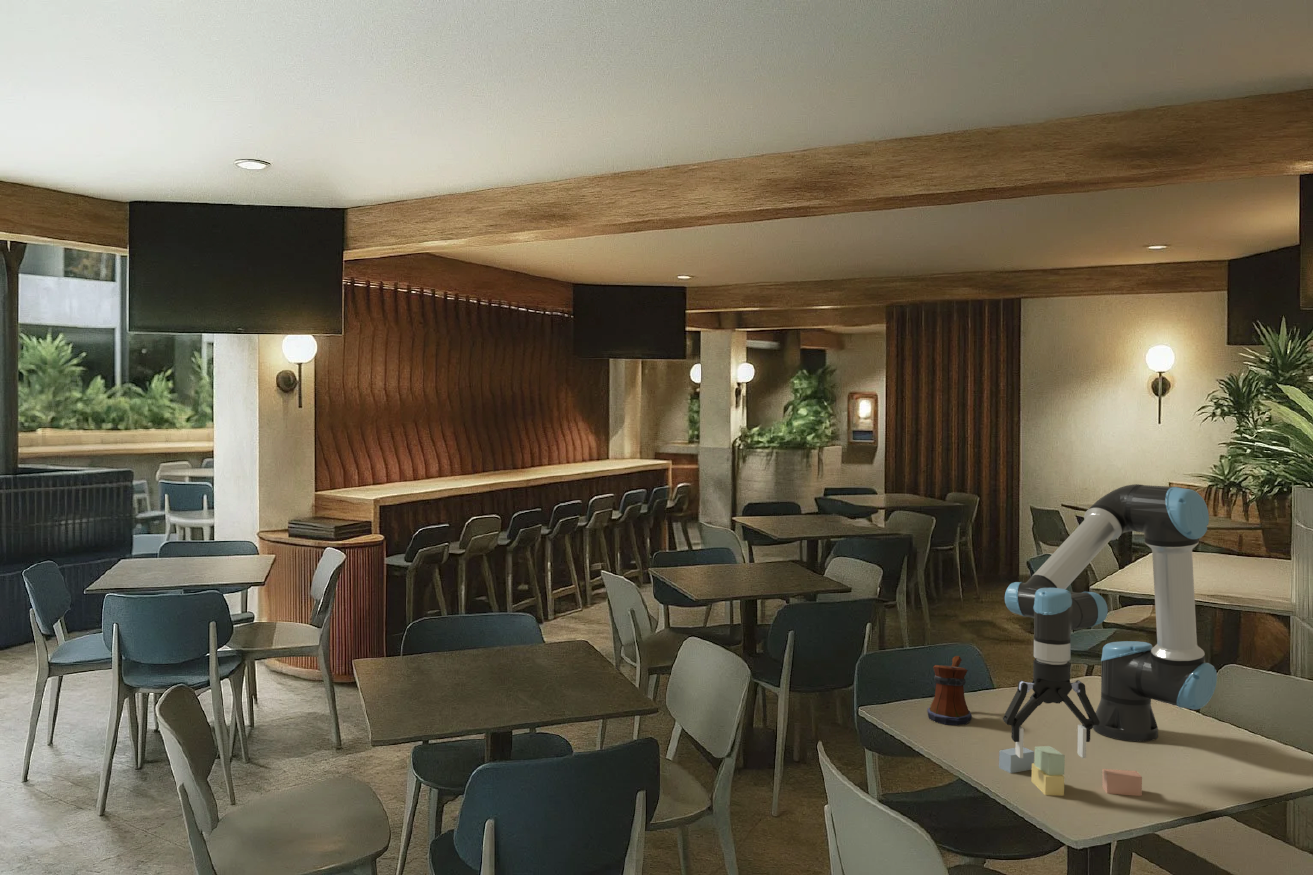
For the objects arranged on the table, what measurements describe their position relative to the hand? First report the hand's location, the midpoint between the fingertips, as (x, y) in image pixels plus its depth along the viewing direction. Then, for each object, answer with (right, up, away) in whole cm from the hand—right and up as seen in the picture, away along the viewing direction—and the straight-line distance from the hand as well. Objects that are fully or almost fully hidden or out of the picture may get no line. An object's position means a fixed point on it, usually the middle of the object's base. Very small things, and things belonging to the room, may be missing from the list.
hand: (1050, 756), depth 219 cm
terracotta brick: (+15, -7, -2) cm, 16 cm away
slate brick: (-4, -7, +11) cm, 13 cm away
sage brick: (-1, -3, -1) cm, 3 cm away
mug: (-7, -5, +50) cm, 51 cm away
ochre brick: (-1, -7, -1) cm, 7 cm away
